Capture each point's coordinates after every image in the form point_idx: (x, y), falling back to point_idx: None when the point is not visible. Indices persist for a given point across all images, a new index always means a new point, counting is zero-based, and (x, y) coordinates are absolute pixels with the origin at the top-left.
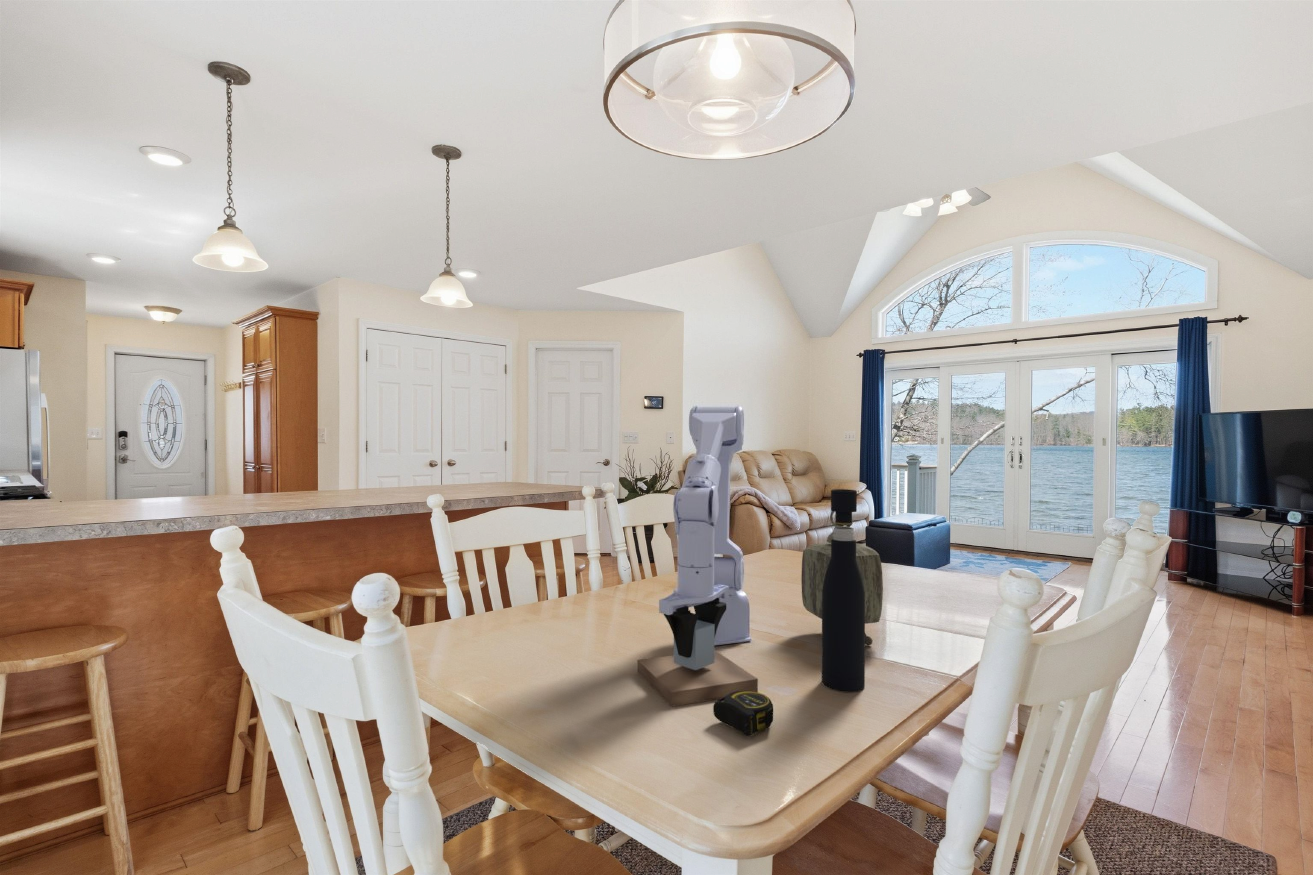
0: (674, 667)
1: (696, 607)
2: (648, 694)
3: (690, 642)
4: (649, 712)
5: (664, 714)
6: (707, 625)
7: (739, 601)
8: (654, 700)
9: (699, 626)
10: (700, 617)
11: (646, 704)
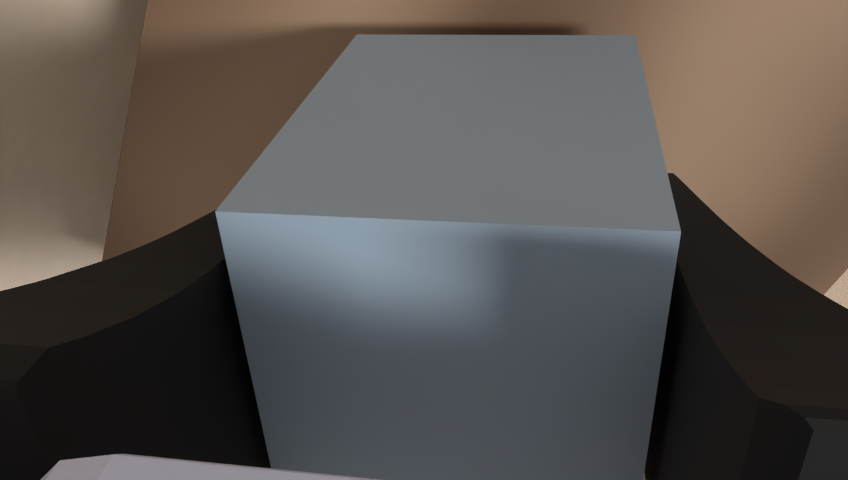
0: (396, 3)
1: (721, 437)
2: (113, 25)
3: None
4: (5, 197)
5: (62, 261)
6: None
7: None
8: (100, 116)
9: (422, 474)
10: (683, 389)
11: (33, 120)
